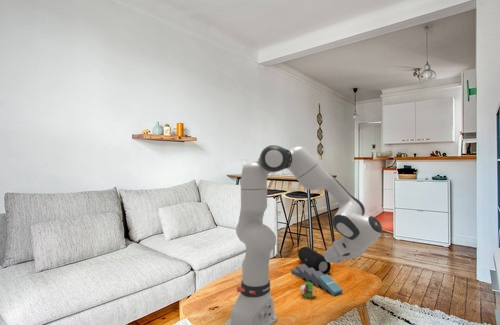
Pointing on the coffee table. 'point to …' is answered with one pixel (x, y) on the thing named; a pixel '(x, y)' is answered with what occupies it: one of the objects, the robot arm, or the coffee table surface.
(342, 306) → the coffee table surface
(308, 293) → the geometric puzzle
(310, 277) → the domino
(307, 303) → the coffee table surface
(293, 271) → the domino
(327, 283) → the domino
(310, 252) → the portable speaker
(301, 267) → the domino
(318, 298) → the coffee table surface
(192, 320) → the coffee table surface
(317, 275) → the domino
